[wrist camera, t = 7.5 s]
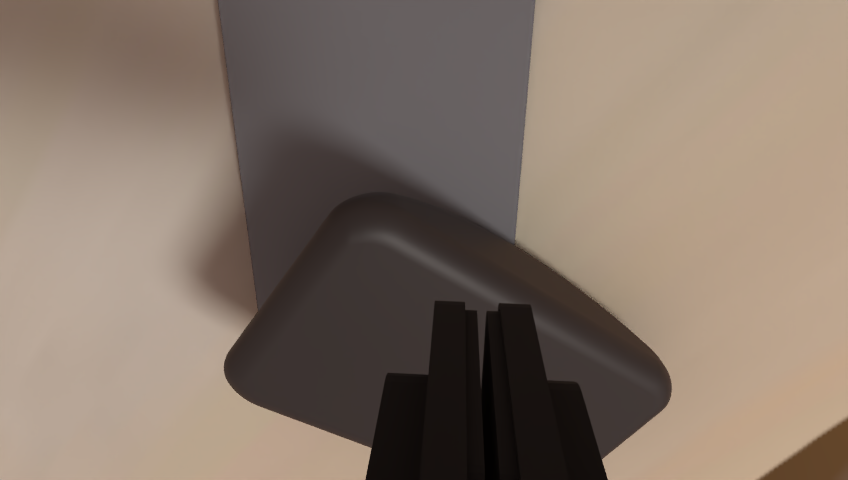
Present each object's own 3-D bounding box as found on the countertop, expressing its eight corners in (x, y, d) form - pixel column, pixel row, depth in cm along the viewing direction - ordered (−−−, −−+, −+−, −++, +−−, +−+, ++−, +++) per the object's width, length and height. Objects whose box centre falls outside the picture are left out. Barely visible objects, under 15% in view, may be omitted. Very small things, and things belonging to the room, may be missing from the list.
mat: (538, -58, 19) (540, -59, 18) (504, 341, 25) (505, 346, 25) (214, -61, 19) (209, -62, 19) (264, 334, 26) (261, 339, 25)
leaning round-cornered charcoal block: (352, 135, 20) (226, 315, 23) (354, 195, 16) (202, 401, 19) (645, 320, 26) (513, 439, 29) (699, 395, 22) (539, 522, 26)
